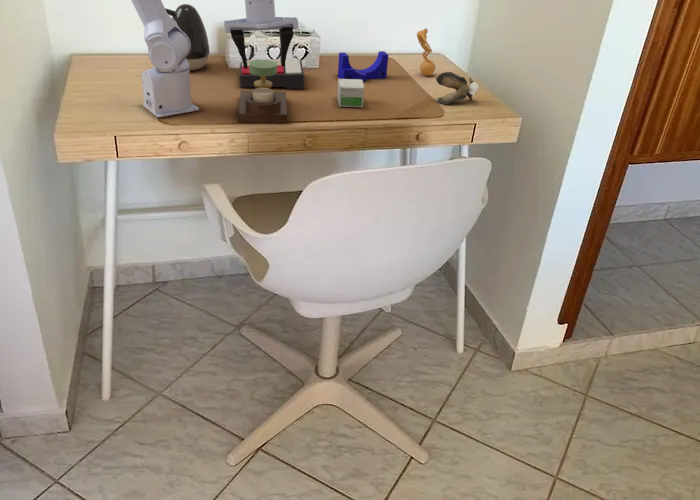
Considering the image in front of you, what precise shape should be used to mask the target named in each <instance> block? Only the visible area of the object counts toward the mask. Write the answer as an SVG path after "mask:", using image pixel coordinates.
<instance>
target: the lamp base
mask: <svg viewBox="0 0 700 500" xmlns="http://www.w3.org/2000/svg"><path fill="white" fill-rule="evenodd" d="M252 91H253V90H240V94H239V105H238V106H239V107H238V123H247V124H248V123H250V124H251V123H255V124H288V106H287V105H288V104H287V93H286V91H274V101H273V102H270V103H258V102H254V101H253V92H252Z"/></svg>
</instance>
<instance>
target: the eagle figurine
mask: <svg viewBox="0 0 700 500" xmlns="http://www.w3.org/2000/svg"><path fill="white" fill-rule="evenodd" d="M436 77H437V78H435V80H436V82H437V84H438V85H439V86H442V87H446V88H447V89H454V90H455V91H453V92H449V93H448V94H445V95H444V96H441V97H438V98H437V100H436V102H437V103H439V104H442V105H443V104H444V105H448V104H453V102H454V103H455V102H456V101H459V100H462V101H463V100H465V99H466V98H468V99H469V100H470V102H473V96H474V95H477V93H478V92H479V89H480V86H479V84H478V82H476V81H474V80H472V77H469V78H468V80H467V79H466V78H465V76H460V75H458V74H456V73H454V72H453V71H445V72H441V73H439V75H437V76H436ZM468 83H469V84H468Z"/></svg>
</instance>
